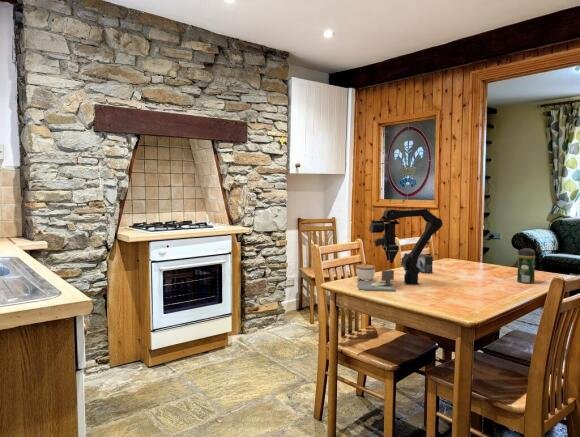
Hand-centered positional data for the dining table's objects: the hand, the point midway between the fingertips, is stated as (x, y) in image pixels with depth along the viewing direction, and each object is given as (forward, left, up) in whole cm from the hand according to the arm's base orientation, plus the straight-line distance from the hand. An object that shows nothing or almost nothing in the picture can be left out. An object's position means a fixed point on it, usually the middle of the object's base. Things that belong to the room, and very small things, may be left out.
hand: (389, 261), depth 222 cm
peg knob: (+5, +10, -11) cm, 16 cm away
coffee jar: (-75, -13, -12) cm, 77 cm away
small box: (-25, -37, -12) cm, 47 cm away
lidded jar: (+12, -9, -12) cm, 20 cm away
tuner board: (+8, +9, -12) cm, 17 cm away
